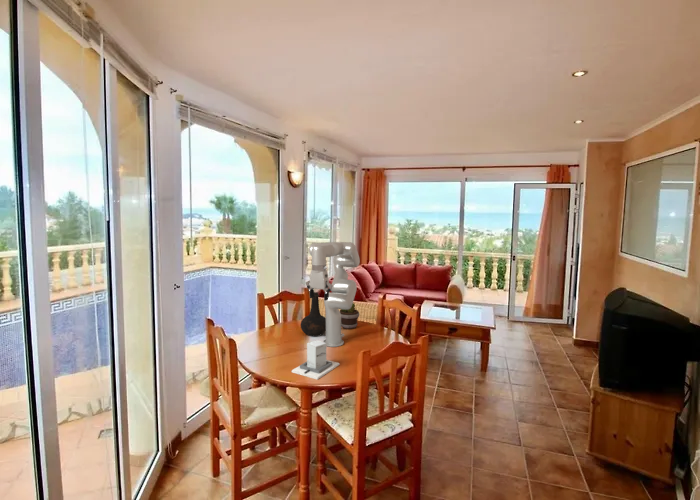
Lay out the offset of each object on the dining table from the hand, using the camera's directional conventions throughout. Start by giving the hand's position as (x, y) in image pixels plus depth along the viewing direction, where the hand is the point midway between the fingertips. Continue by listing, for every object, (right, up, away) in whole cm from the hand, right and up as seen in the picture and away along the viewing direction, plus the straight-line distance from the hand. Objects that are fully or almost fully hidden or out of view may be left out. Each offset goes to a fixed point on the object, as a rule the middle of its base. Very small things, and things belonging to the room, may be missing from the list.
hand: (319, 298), depth 207 cm
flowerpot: (+16, -27, +57) cm, 65 cm away
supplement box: (0, -34, -11) cm, 36 cm away
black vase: (-6, -29, +42) cm, 51 cm away
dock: (-1, -35, -11) cm, 36 cm away
